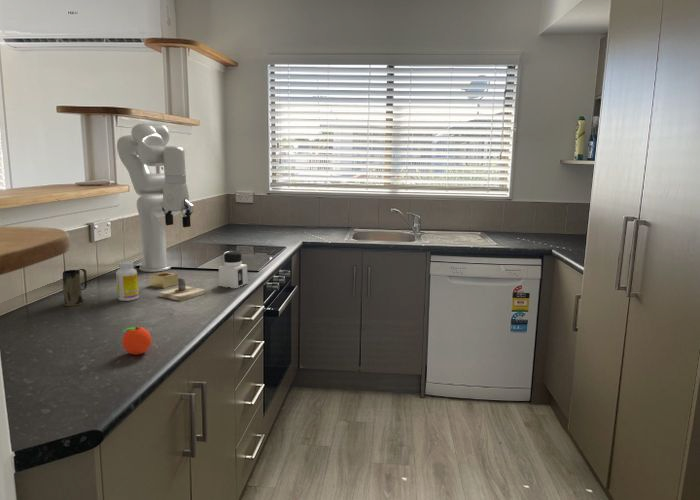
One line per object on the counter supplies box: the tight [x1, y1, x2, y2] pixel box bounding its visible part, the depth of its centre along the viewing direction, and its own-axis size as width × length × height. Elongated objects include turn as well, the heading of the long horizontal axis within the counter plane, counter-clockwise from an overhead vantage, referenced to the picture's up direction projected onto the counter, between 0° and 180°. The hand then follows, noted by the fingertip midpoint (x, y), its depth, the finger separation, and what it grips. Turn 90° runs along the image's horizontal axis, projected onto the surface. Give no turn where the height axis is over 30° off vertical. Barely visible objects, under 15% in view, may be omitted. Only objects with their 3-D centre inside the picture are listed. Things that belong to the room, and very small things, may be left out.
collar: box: [149, 271, 179, 289], centre depth 202 cm, size 7×7×4 cm
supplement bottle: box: [115, 260, 140, 302], centre depth 183 cm, size 7×7×13 cm
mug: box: [62, 268, 88, 307], centre depth 176 cm, size 8×6×12 cm
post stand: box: [158, 277, 206, 302], centre depth 188 cm, size 11×11×6 cm
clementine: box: [118, 326, 152, 355], centre depth 136 cm, size 8×7×7 cm
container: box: [218, 250, 248, 289], centre depth 201 cm, size 8×8×13 cm
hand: (178, 225), depth 202 cm, fingers open, 9 cm apart
